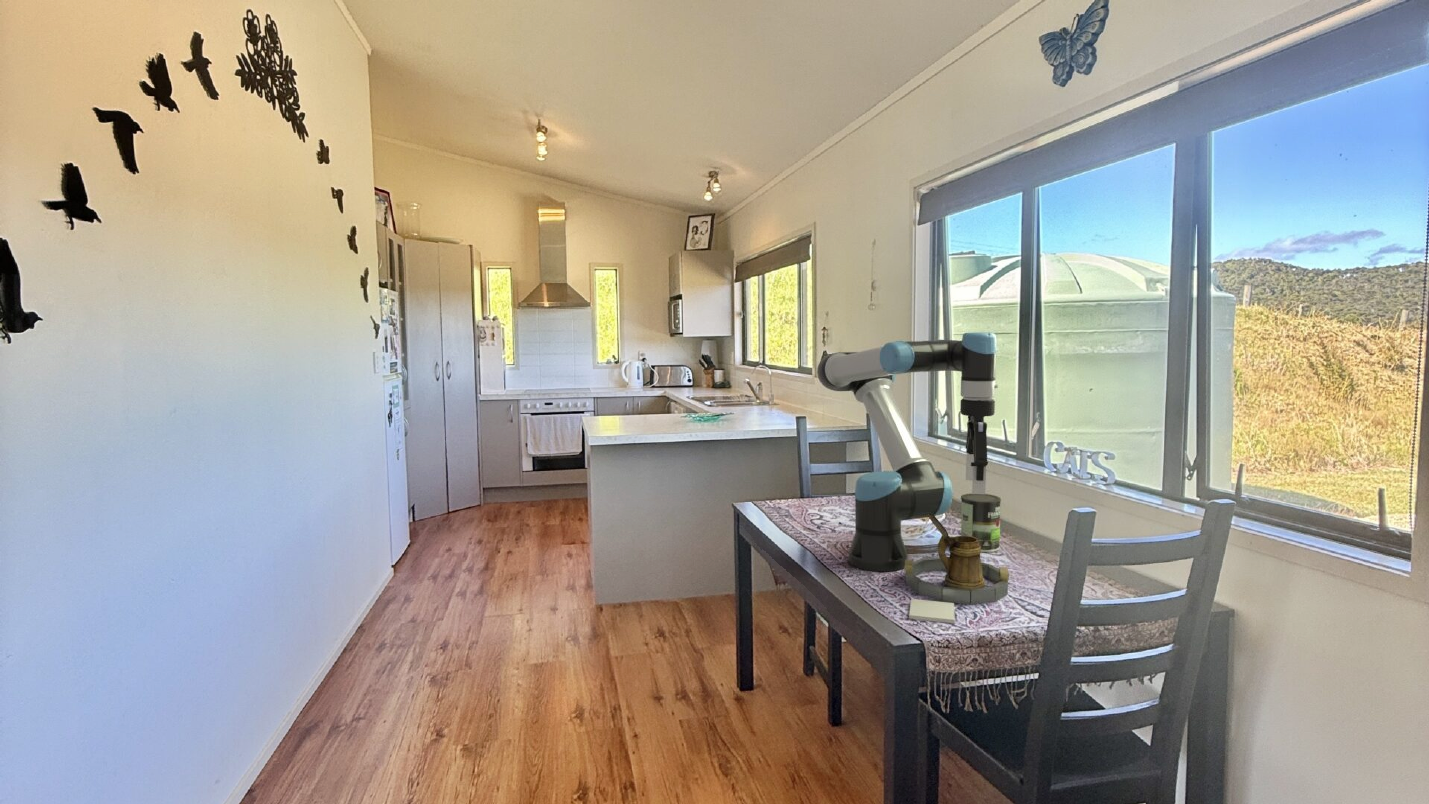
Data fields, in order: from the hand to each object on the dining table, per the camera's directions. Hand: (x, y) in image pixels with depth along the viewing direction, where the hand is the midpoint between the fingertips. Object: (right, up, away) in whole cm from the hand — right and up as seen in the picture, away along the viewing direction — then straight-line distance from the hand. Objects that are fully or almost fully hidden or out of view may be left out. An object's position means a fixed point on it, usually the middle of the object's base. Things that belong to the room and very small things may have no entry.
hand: (975, 486), depth 161 cm
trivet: (-15, -25, -16) cm, 33 cm away
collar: (-5, -23, 0) cm, 24 cm away
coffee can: (+12, -20, +28) cm, 36 cm away
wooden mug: (-5, -24, 0) cm, 24 cm away
